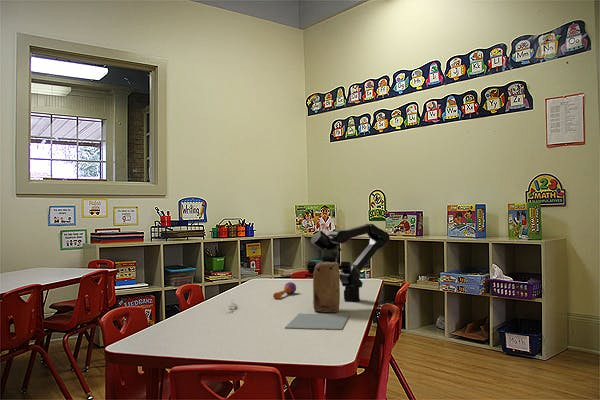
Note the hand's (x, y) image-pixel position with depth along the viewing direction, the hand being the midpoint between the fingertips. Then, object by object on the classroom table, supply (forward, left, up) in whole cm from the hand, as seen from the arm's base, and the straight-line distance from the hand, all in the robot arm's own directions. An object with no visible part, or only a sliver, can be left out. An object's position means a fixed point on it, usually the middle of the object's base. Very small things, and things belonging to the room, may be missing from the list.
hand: (327, 283), depth 205 cm
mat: (0, +24, -11) cm, 27 cm away
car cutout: (+41, +6, -11) cm, 43 cm away
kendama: (+26, -31, -11) cm, 42 cm away
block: (0, +5, -11) cm, 12 cm away
